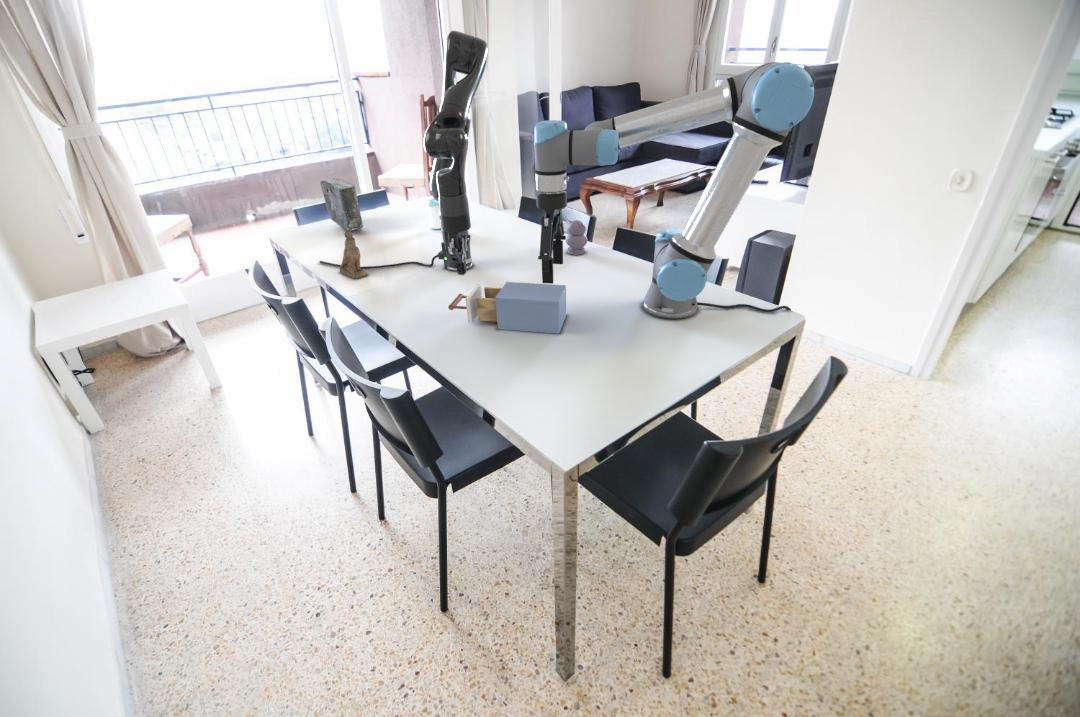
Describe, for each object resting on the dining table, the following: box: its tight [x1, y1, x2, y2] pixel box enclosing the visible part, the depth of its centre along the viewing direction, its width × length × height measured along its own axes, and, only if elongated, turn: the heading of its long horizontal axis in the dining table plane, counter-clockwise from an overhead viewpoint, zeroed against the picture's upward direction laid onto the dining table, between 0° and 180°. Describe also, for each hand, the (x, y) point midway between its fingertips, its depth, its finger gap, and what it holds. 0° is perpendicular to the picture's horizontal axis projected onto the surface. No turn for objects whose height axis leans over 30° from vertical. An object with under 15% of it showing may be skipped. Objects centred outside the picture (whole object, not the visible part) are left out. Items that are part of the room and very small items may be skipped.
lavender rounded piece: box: [565, 219, 588, 256], centre depth 186 cm, size 8×8×12 cm
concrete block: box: [319, 177, 364, 232], centre depth 222 cm, size 27×9×20 cm, turn 36°
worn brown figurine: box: [339, 230, 367, 280], centre depth 174 cm, size 12×6×18 cm, turn 43°
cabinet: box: [495, 281, 567, 335], centre depth 139 cm, size 17×11×10 cm, turn 77°
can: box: [426, 198, 442, 230], centre depth 220 cm, size 7×7×12 cm
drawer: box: [448, 283, 503, 324], centre depth 142 cm, size 22×10×8 cm, turn 77°
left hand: (462, 273), depth 138 cm, fingers closed
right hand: (553, 273), depth 132 cm, fingers open, 13 cm apart
